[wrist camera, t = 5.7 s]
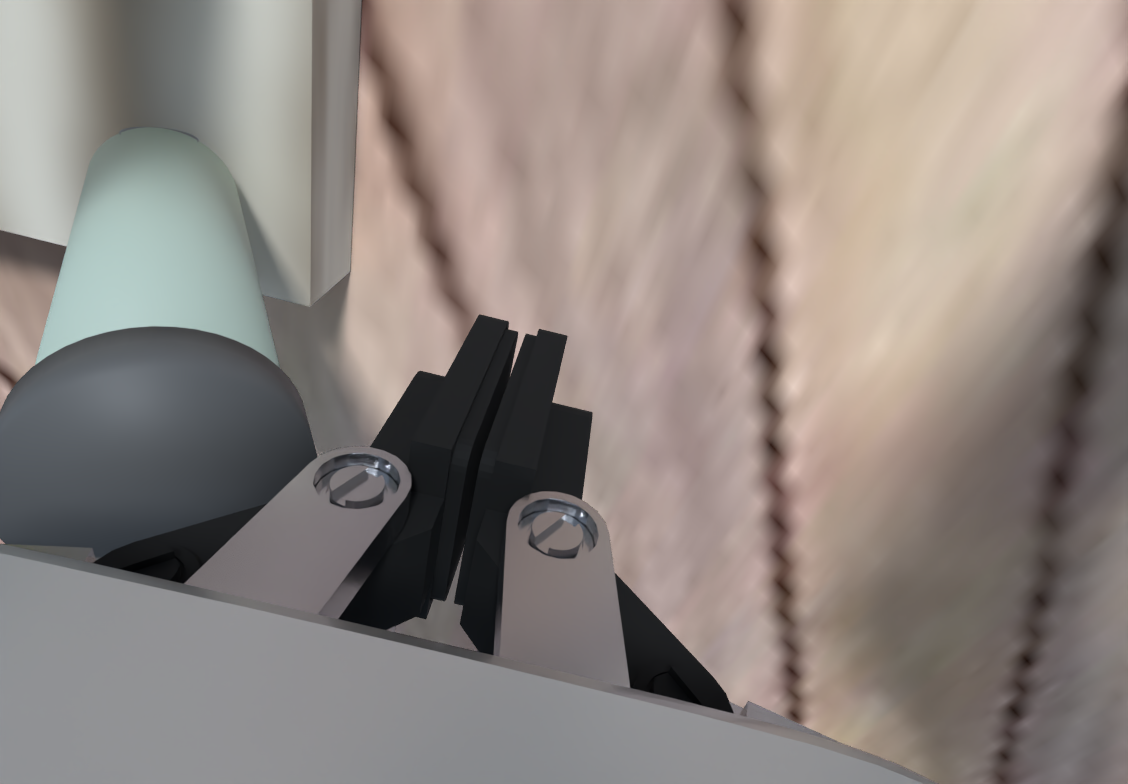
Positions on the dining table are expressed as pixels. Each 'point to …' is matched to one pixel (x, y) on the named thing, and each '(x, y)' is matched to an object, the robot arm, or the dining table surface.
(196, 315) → the hinged leg
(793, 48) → the dining table surface
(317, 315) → the dining table surface
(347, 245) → the stool
